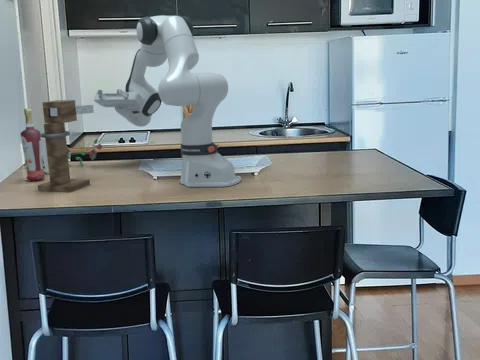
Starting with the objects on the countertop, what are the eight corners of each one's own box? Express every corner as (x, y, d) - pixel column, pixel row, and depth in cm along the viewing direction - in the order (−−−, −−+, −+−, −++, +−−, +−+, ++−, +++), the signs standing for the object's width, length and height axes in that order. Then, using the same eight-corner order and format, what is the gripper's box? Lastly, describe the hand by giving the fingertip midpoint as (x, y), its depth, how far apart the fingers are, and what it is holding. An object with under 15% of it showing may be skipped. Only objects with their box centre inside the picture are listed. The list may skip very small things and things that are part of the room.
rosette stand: (90, 184, 225) (81, 99, 218) (68, 193, 213) (59, 103, 206) (59, 183, 230) (49, 100, 223) (36, 191, 218) (25, 103, 211)
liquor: (49, 179, 238) (41, 108, 232) (32, 183, 233) (23, 110, 227) (39, 177, 243) (31, 107, 237) (22, 180, 238) (13, 109, 232)
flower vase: (38, 183, 271) (111, 163, 266) (24, 180, 258) (101, 160, 254) (33, 157, 272) (106, 137, 268) (19, 154, 260) (95, 133, 256)
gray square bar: (93, 112, 234) (93, 104, 234) (57, 116, 214) (56, 107, 214) (87, 112, 235) (86, 105, 235) (50, 116, 215) (50, 107, 215)
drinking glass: (55, 174, 248) (51, 138, 245) (40, 174, 249) (36, 138, 246) (63, 171, 255) (59, 135, 251) (49, 171, 256) (45, 136, 253)
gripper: (106, 98, 260) (88, 84, 248) (147, 98, 252) (131, 83, 240) (103, 112, 258) (84, 98, 246) (145, 112, 251) (128, 98, 238)
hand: (108, 91), depth 243 cm, fingers open, 8 cm apart
